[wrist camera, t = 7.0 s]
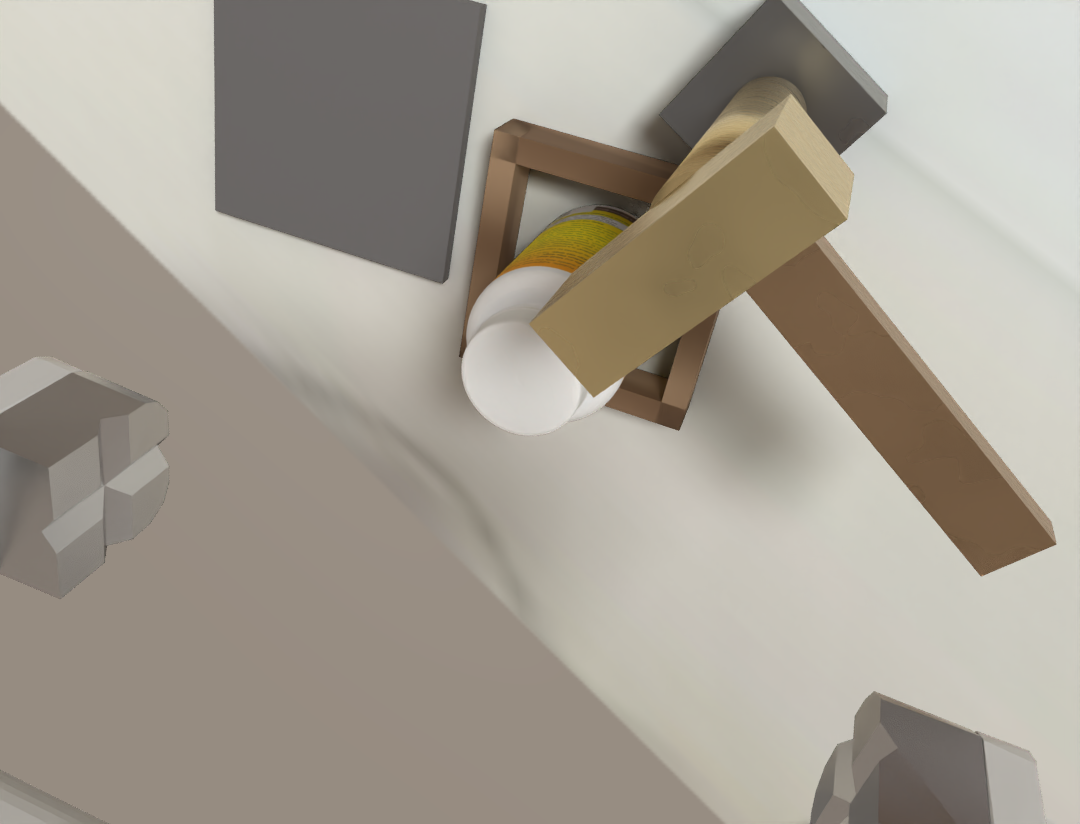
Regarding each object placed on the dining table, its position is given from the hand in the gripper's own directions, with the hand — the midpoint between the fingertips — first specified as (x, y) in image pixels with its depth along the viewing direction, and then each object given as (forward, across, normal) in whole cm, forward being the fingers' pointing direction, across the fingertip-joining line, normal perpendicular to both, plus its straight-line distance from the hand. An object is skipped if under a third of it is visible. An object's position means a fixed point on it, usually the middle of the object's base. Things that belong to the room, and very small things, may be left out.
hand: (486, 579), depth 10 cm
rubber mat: (+27, +16, +5) cm, 32 cm away
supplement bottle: (+27, +4, +8) cm, 28 cm away
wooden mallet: (+24, -5, +3) cm, 24 cm away
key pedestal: (+27, 0, 0) cm, 27 cm away
